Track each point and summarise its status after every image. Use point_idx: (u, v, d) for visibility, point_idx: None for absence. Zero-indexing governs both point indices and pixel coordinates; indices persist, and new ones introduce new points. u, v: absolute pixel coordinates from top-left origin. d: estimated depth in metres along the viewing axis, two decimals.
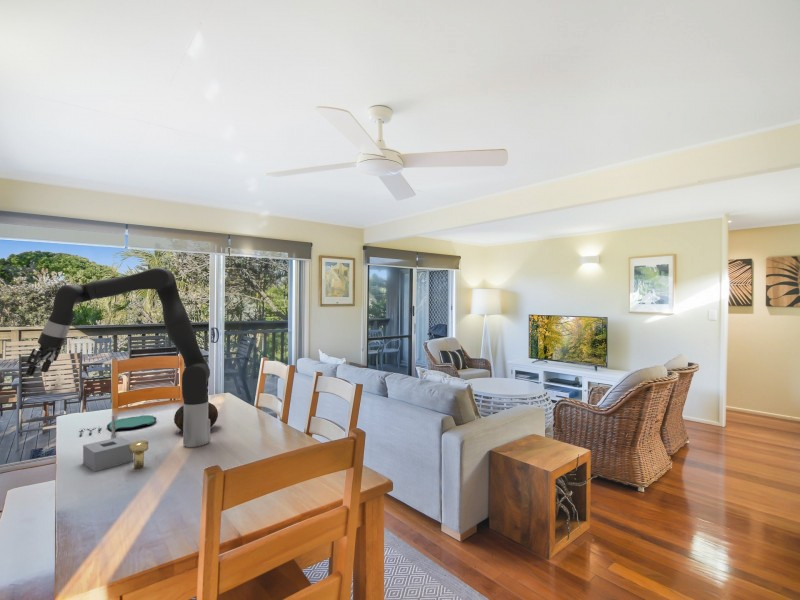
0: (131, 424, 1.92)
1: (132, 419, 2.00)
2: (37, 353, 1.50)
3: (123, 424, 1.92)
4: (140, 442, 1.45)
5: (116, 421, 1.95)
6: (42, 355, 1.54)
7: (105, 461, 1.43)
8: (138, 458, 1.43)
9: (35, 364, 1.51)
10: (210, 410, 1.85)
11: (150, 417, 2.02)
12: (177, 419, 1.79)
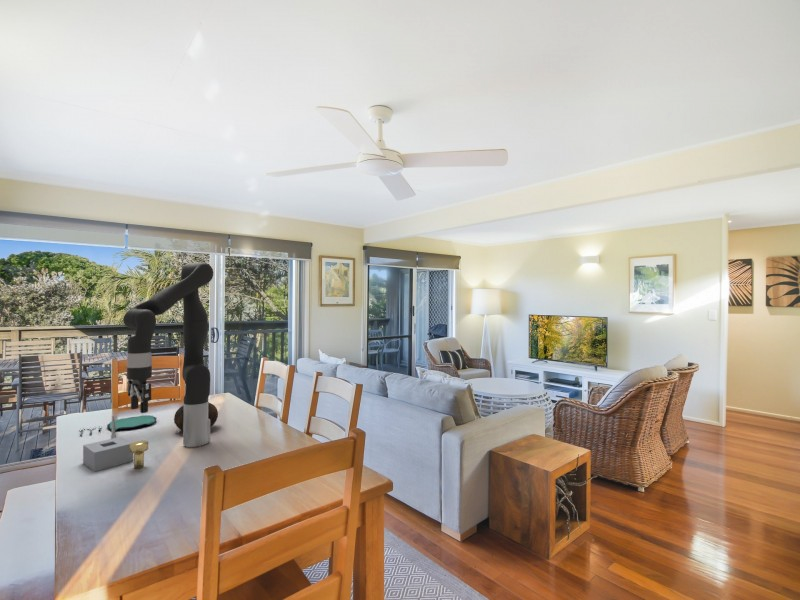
0: (131, 424, 1.92)
1: (132, 419, 2.00)
2: (149, 387, 1.41)
3: (123, 424, 1.92)
4: (140, 442, 1.45)
5: (116, 421, 1.95)
6: None
7: (105, 461, 1.43)
8: (138, 458, 1.43)
9: None
10: (210, 410, 1.85)
11: (150, 417, 2.02)
12: (177, 419, 1.79)
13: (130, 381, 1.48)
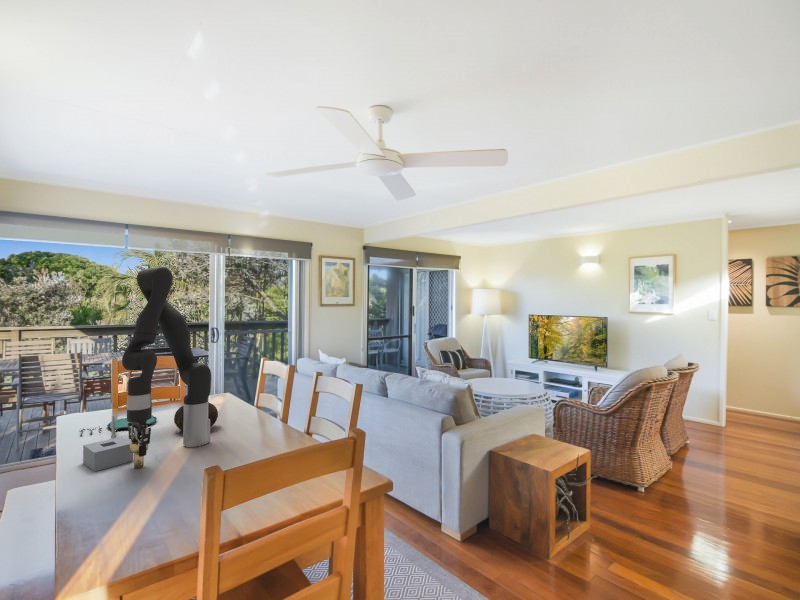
0: None
1: None
2: (149, 431, 1.41)
3: (123, 424, 1.92)
4: None
5: (116, 421, 1.96)
6: None
7: (105, 461, 1.43)
8: (138, 458, 1.43)
9: None
10: (210, 410, 1.85)
11: None
12: (177, 419, 1.79)
13: (130, 423, 1.48)
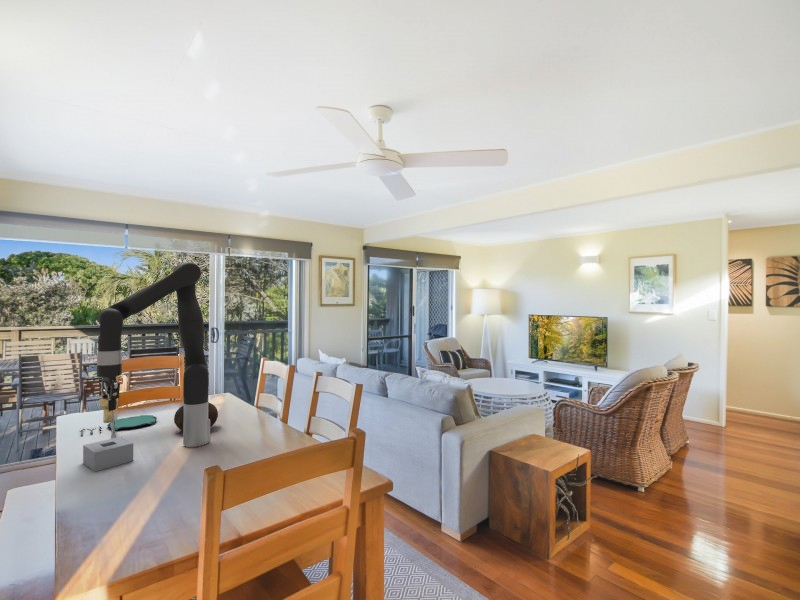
0: (132, 424, 1.92)
1: (132, 419, 2.00)
2: (118, 386, 1.46)
3: (124, 424, 1.92)
4: None
5: (116, 421, 1.96)
6: None
7: (105, 461, 1.43)
8: (108, 413, 1.48)
9: None
10: (210, 410, 1.85)
11: (150, 417, 2.02)
12: (177, 419, 1.79)
13: (101, 380, 1.52)
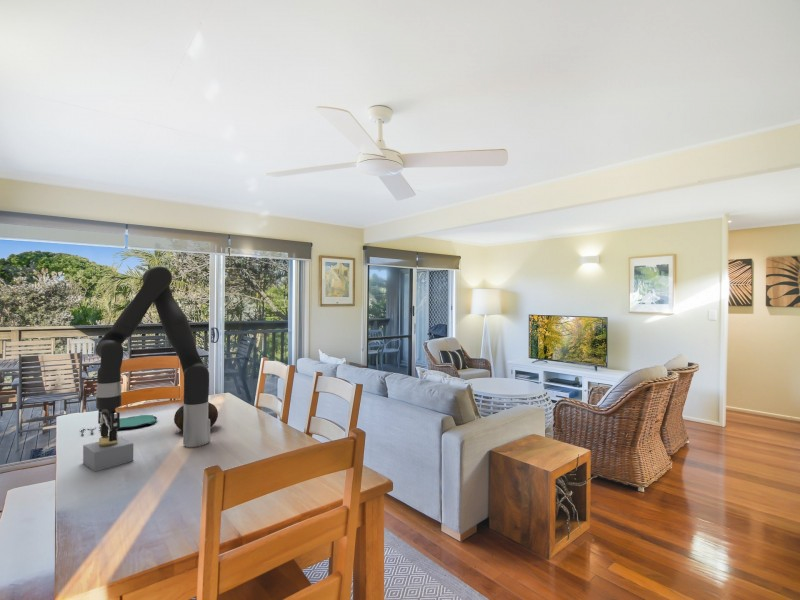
0: (132, 423, 1.93)
1: (132, 419, 2.01)
2: (118, 416, 1.46)
3: (124, 424, 1.93)
4: None
5: None
6: None
7: (105, 461, 1.43)
8: None
9: None
10: (210, 410, 1.85)
11: (150, 416, 2.03)
12: (177, 419, 1.79)
13: (100, 409, 1.52)
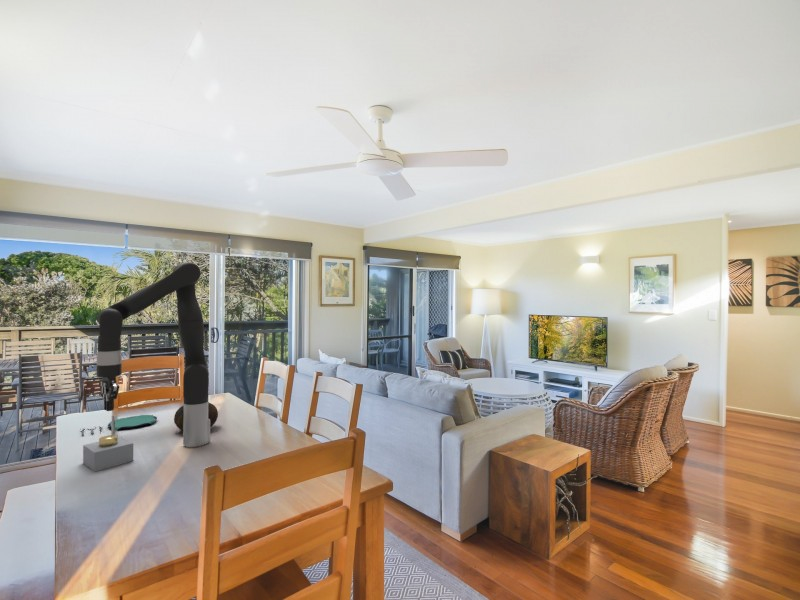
0: (132, 423, 1.93)
1: (132, 419, 2.01)
2: (117, 389, 1.46)
3: (124, 423, 1.93)
4: (110, 436, 1.50)
5: (116, 421, 1.96)
6: None
7: (105, 461, 1.43)
8: None
9: None
10: (210, 410, 1.85)
11: (150, 416, 2.03)
12: (177, 419, 1.79)
13: (101, 383, 1.52)
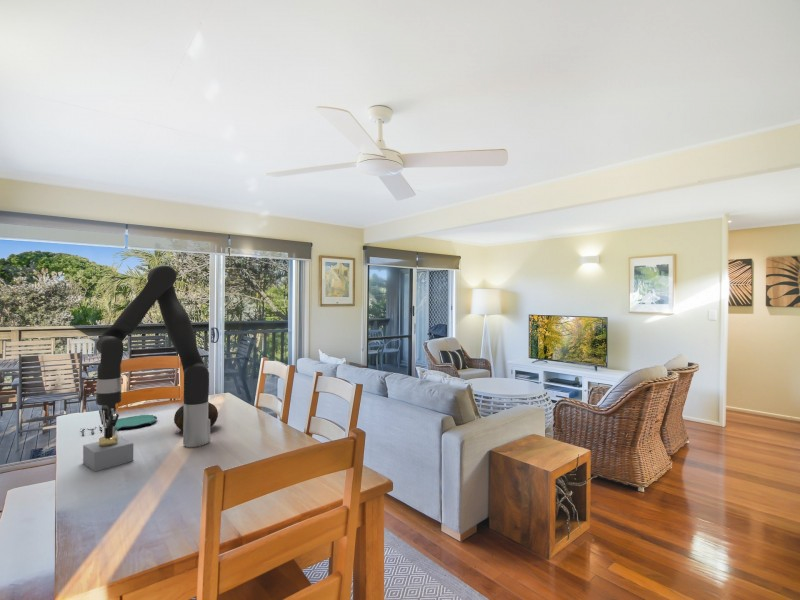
0: (132, 423, 1.93)
1: (132, 418, 2.01)
2: (116, 418, 1.46)
3: (124, 423, 1.93)
4: None
5: None
6: None
7: (105, 461, 1.43)
8: None
9: None
10: (210, 410, 1.85)
11: (150, 416, 2.03)
12: (177, 419, 1.79)
13: (101, 410, 1.52)
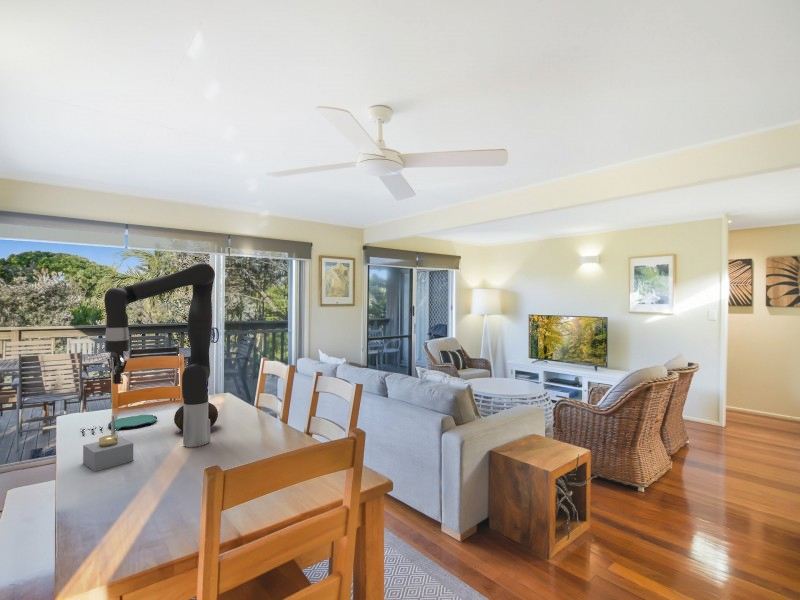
0: (132, 423, 1.93)
1: (132, 418, 2.01)
2: (124, 364, 1.55)
3: (124, 423, 1.93)
4: (110, 436, 1.50)
5: (116, 420, 1.96)
6: None
7: (105, 461, 1.43)
8: None
9: None
10: (210, 410, 1.85)
11: (150, 416, 2.03)
12: (177, 419, 1.79)
13: None
